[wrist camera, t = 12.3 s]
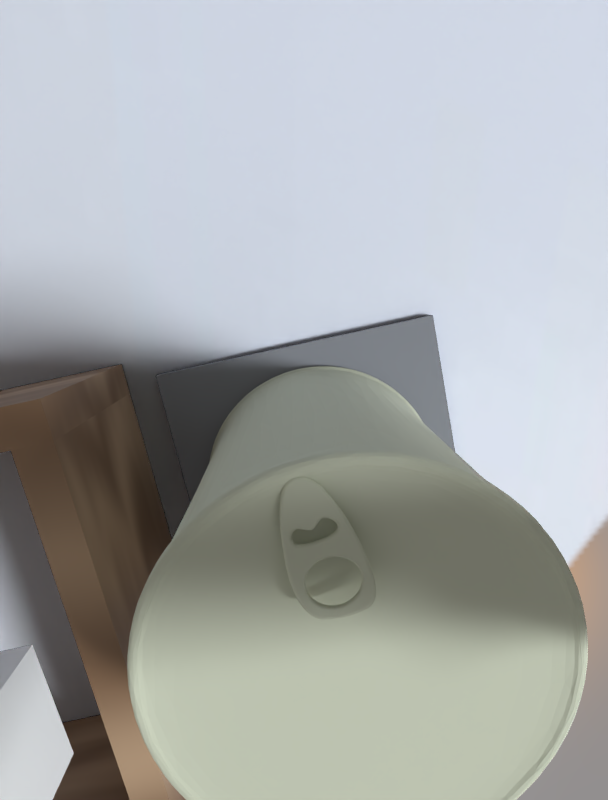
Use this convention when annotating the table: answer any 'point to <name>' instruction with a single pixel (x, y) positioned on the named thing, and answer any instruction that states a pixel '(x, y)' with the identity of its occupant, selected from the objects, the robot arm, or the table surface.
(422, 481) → the can
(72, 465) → the crate
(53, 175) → the table surface
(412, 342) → the mat
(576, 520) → the table surface
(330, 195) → the table surface
